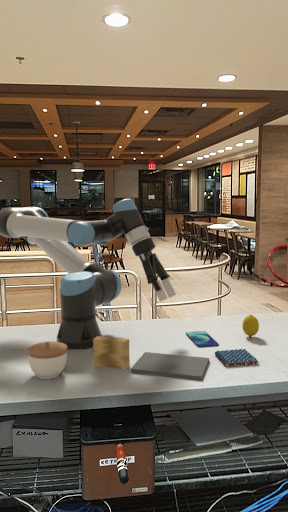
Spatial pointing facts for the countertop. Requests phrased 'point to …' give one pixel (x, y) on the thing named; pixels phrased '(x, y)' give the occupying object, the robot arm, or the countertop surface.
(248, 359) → the woven mat
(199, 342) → the smartphone
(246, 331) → the lemon
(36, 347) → the lidded jar
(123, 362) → the block
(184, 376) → the mat
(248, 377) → the countertop surface
